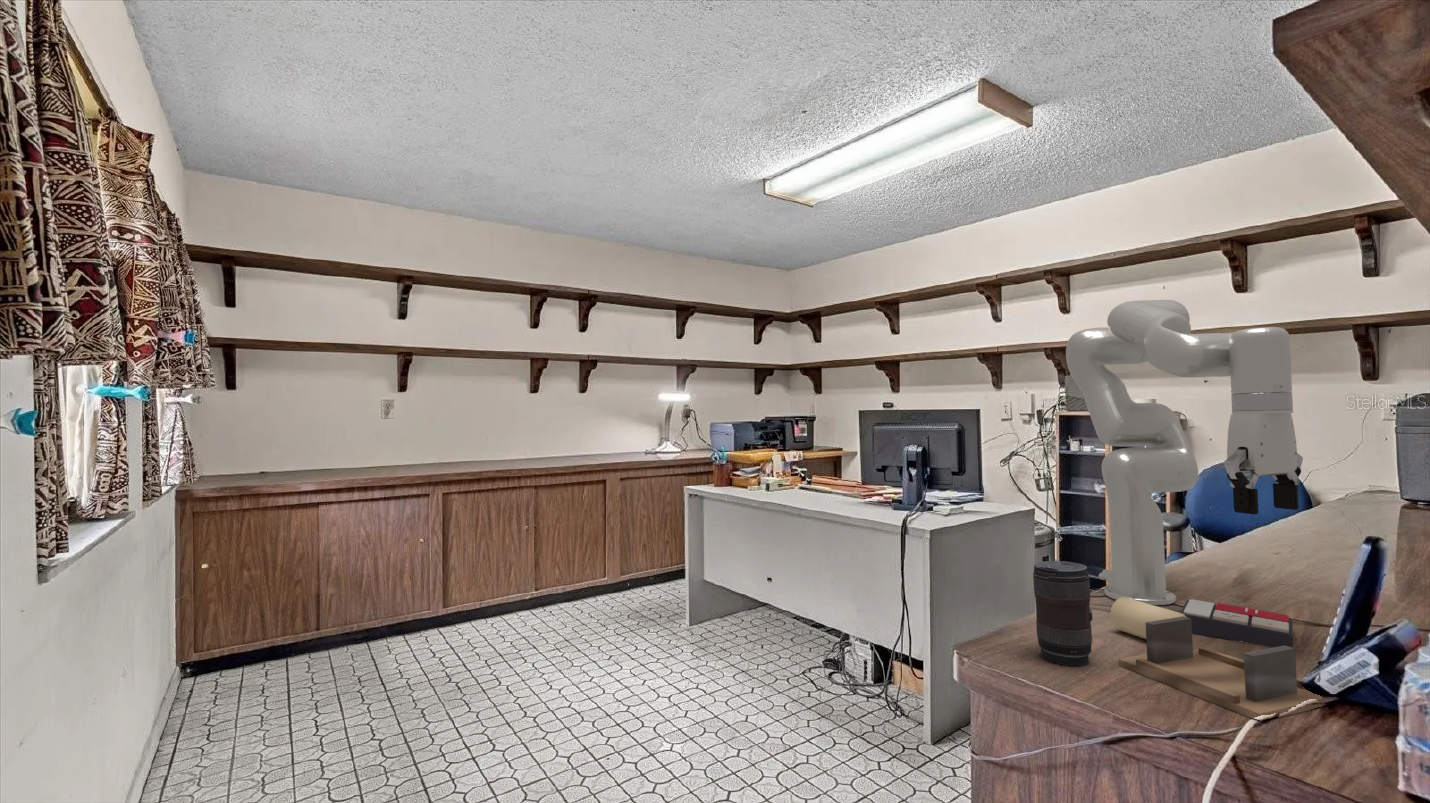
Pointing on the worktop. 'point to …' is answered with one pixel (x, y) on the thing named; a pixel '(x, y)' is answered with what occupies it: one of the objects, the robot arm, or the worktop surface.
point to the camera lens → (1063, 611)
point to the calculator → (1239, 623)
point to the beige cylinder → (1137, 616)
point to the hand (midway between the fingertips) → (1266, 510)
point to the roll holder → (1221, 671)
